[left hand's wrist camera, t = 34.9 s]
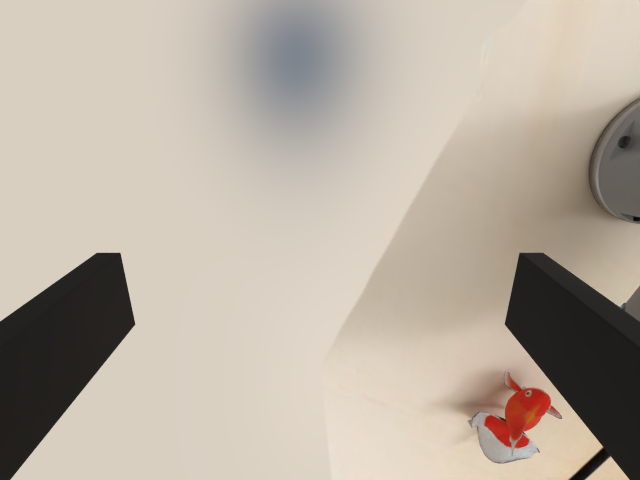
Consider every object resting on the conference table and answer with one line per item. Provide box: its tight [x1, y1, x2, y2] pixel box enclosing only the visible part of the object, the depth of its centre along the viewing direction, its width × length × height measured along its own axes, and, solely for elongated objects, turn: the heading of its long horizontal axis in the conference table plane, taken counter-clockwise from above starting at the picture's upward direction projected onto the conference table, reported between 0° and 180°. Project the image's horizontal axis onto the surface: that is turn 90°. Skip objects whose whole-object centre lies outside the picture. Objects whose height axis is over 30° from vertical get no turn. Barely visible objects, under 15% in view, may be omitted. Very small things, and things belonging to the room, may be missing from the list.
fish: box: [468, 373, 562, 463], centre depth 54 cm, size 11×16×10 cm
